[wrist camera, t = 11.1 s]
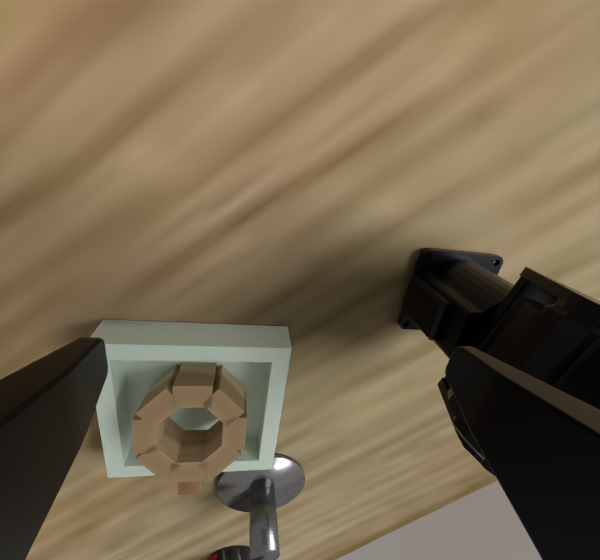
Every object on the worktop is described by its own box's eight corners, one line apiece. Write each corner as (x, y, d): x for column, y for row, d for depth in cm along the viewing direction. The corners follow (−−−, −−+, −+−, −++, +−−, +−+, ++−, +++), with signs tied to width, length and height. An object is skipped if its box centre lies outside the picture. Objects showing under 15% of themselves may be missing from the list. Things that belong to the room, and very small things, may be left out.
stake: (310, 451, 30) (323, 522, 24) (297, 504, 33) (307, 576, 28) (219, 455, 28) (212, 531, 23) (216, 510, 32) (209, 588, 26)
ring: (248, 363, 23) (249, 386, 20) (240, 465, 25) (240, 500, 22) (147, 361, 22) (132, 386, 19) (146, 469, 24) (131, 508, 21)
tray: (287, 326, 23) (291, 348, 21) (270, 441, 28) (272, 469, 26) (103, 319, 21) (84, 343, 18) (120, 446, 26) (108, 477, 24)
